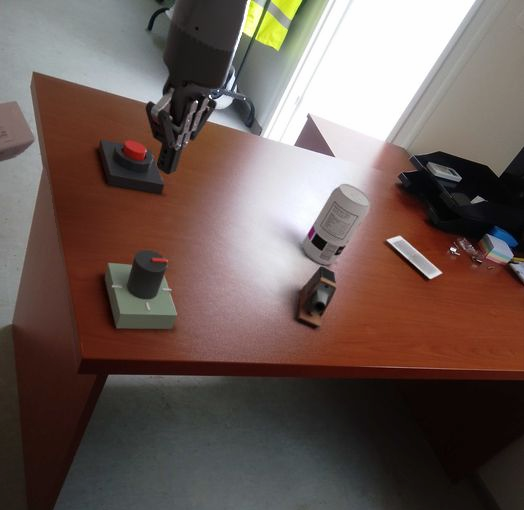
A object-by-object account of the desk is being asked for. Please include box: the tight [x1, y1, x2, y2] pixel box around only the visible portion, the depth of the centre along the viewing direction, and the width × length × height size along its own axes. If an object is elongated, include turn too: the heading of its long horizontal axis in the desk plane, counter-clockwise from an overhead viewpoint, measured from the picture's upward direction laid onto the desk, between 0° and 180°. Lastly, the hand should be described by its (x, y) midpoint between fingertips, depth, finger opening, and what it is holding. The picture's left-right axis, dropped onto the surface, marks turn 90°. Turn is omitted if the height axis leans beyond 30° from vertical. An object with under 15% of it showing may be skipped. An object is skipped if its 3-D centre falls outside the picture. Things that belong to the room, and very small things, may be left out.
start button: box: [123, 139, 147, 160], centre depth 86 cm, size 4×4×2 cm
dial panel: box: [104, 262, 178, 330], centre depth 66 cm, size 10×9×3 cm
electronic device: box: [296, 265, 337, 329], centre depth 81 cm, size 4×10×8 cm, turn 174°
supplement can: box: [302, 183, 372, 266], centre depth 94 cm, size 8×8×15 cm
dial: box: [127, 249, 168, 299], centre depth 63 cm, size 4×4×6 cm
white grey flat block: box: [386, 235, 443, 280], centre depth 116 cm, size 8×15×2 cm, turn 46°
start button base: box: [98, 138, 165, 195], centre depth 88 cm, size 12×10×4 cm
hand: (165, 169), depth 62 cm, fingers closed
